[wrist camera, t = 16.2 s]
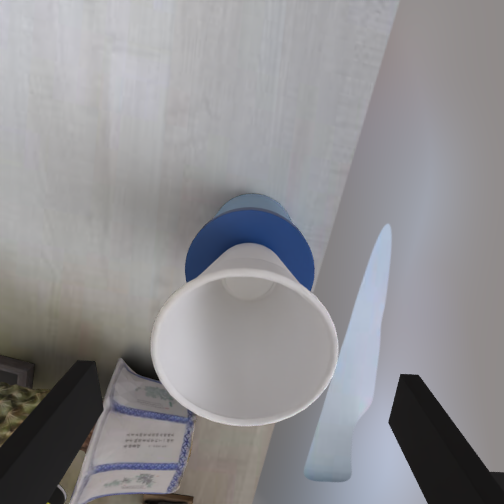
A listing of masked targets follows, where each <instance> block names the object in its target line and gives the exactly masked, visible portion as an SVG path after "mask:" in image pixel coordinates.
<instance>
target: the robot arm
mask: <svg viewBox="0 0 504 504" xmlns="http://www.w3.org/2000/svg"><path fill="white" fill-rule="evenodd" d="M103 411H104V407H103V402H102V396H101V391H100V385H99V380H98V374H97V369H96V363H95V361H80V360H77V362H76V363H75V364H74V365H73V366H72V367H71V368H70V369H69V371H68V372H67V373H66V374H65V375H64V376H63V377H62V378H61V380H60V381H59V382H58V383H57V384H56V385H55V386H54V387H53V388H52V390H51V391H50V392H49V393H48V394H47V395H46V396H45V397H44V399H43V400H42V401H41V402H40V403H39V404H38V405H37V406H36V408H35V409H34V410H33V411H32V412H31V413H30V414H29V415H28V417H27V418H26V419H25V420H24V421H23V422H22V423H21V424H20V425H19V427H18V428H17V429H16V430H15V431H14V432H13V433H12V434H11V436H10V437H9V438H8V439H7V440H6V441H5V442H4V443H3V445H2V446H1V447H0V504H47V502H48V500H49V499H50V497H51V496H52V494H53V492H54V491H55V489H56V487H57V486H58V484H59V482H60V481H61V479H62V478H63V476H64V474H65V473H66V471H67V469H68V468H69V466H70V465H71V463H72V461H73V460H74V458H75V456H76V455H77V453H78V451H79V450H80V448H81V447H82V445H83V443H84V442H85V440H86V438H87V437H88V435H89V434H90V432H91V430H92V429H93V427H94V425H95V424H96V422H97V420H98V419H99V417H100V416H101V414H102V412H103ZM389 425H390V427H391V429H392V431H393V433H394V435H395V437H396V439H397V441H398V443H399V445H400V447H401V449H402V452H403V454H404V456H405V458H406V460H407V462H408V464H409V466H410V468H411V470H412V472H413V474H414V476H415V478H416V480H417V482H418V484H419V487H420V489H421V490H422V493H423V494H424V497H425V499H426V501H427V503H428V504H504V473H503V472H489V470H488V469H487V468H486V466H485V465H484V464H483V462H482V461H481V460H480V458H479V457H478V455H477V454H476V453H475V451H474V450H473V449H472V447H471V446H470V444H469V443H468V442H467V441H466V439H465V438H464V436H463V435H462V433H461V432H460V431H459V429H458V428H457V427H456V425H455V424H454V423H453V421H452V420H451V419H450V417H449V416H448V414H447V413H446V412H445V410H444V409H443V408H442V406H441V405H440V403H439V402H438V401H437V399H436V398H435V397H434V395H433V394H432V392H431V391H430V390H429V388H428V387H427V386H426V384H425V383H424V382H423V380H422V379H421V377H420V376H419V375H412V374H400V378H399V382H398V386H397V390H396V394H395V398H394V402H393V406H392V411H391V414H390V418H389Z"/></svg>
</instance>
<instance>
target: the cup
mask: <svg viewBox="0 0 504 504" xmlns="http://www.w3.org/2000/svg"><path fill="white" fill-rule="evenodd" d="M151 357H152V361H153V365H154V369H155V371H156V373H157V375H158V377H159V379H160V382H161V383H162V384H163V386H164V387H165V388H166V390H167V391H168V392H169V394H170V395H171V396H172V397H173V398H174V399H176V400H177V401H178V402H179V403H180V404H181V405H182V406H184V407H185V408H187V409H189V410H190V411H192V412H193V413H195V414H197V415H199V416H201V417H204V418H206V419H208V420H211V421H215V422H218V423H222V424H226V425H235V426H260V425H265V424H271V423H276V422H278V421H281V420H284V419H286V418H289V417H292V416H293V415H295V414H297V413H299V412H300V411H302V410H304V409H305V408H307V407H308V406H309V405H310V404H312V403H313V402H314V401H315V400H316V399H317V398H318V397H319V396H320V395H321V393H322V392H323V391H324V390H325V389H326V388H327V386H328V384H329V382H330V380H331V378H332V376H333V374H334V372H335V368H336V364H337V360H338V338H337V333H336V329H335V325H334V323H333V321H332V319H331V317H330V315H329V313H328V311H327V309H326V308H325V307H324V306H323V304H322V303H321V302H320V301H319V299H318V298H317V297H316V296H315V295H314V294H313V293H311V292H310V291H309V290H308V289H307V288H305V287H304V286H303V285H301V284H300V283H299V282H298V280H297V279H296V278H295V277H294V276H293V275H292V273H291V272H290V271H289V270H288V268H287V267H286V266H285V265H284V264H283V262H282V261H281V260H280V259H279V257H278V256H277V255H276V254H275V253H274V252H273V251H272V250H271V249H269V248H267V247H265V246H263V245H260V244H256V243H242V244H238V245H235V246H233V247H231V248H229V249H228V250H227V251H225V252H224V253H223V254H222V255H221V256H220V257H219V258H218V259H217V260H215V261H214V262H213V263H212V264H211V265H210V266H209V267H208V268H207V269H206V270H205V271H204V272H202V273H201V274H200V275H199V276H198V277H197V278H195V279H193V280H191V281H189V282H187V283H186V284H185V285H183V286H182V287H181V288H179V289H178V290H177V291H175V292H174V293H173V294H172V295H171V297H170V298H169V299H168V300H167V301H166V302H165V304H164V305H163V306H162V308H161V310H160V312H159V314H158V316H157V317H156V319H155V321H154V325H153V330H152V334H151Z"/></svg>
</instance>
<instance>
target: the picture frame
mask: <svg viewBox="0 0 504 504" xmlns="http://www.w3.org/2000/svg"><path fill="white" fill-rule="evenodd" d="M34 365H35V364H32V363H28V362H25V361H21V360H17V359H13V358H10V357H6V356H2V355H0V382H5V383H8V384H9V385H15V384H18V385H19V386H22V387H28V388H30V389H32V384H33V375H34Z"/></svg>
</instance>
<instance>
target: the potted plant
mask: <svg viewBox="0 0 504 504" xmlns="http://www.w3.org/2000/svg"><path fill="white" fill-rule="evenodd" d="M50 391H51V390H48V389H37V390H32V389H30V388H28V387H22V386H19V385H18V384H15V385H9V384H8V383H5V382H0V447H1V446H2V445H3V443H4V442H5V441H6V440H7V439H8V438H9V437H10V436H11V434H12V433H13V432H14V431H15V430H16V429H17V428H18V427H19V425H20V424H21V423H22V422H23V421H24V420H25V419H26V418H27V417H28V415H29V414H30V413H31V412H32V411H33V410H34V409H35V408H36V406H37V405H38V404H39V403H40V402H41V401H42V400H43V399H44V397H45V396H46V395H47V394H48V393H49V392H50ZM102 402H103V407H104V411H103V412H102V414H101V416H100V417H99V419H98V420H97V422H96V424H95V425H94V427H93V429H92V430H91V432H90V434H89V435H88V437H87V438H86V440H85V442H84V443H83V445H82V447H81V448H80V450H82V451H85V454H86V455H85V458H84V462H83V465H82V468H81V472H80V475H79V477H78V480H77V483H76V485H75V488H74V491H73V493H72V496H71V499H70V503H69V504H86V503H88V502H90V501H92V500H94V499H97V498H100V497H103V496H110V495H119V494H170V493H174V492H175V491H177V490H178V489H179V488H180V481H181V479H182V477H183V474H184V470H185V468H186V465H187V462H188V460H189V457H190V454H191V448H192V437H193V434H194V427H195V422H196V420H197V414H195V413H193V412H192V411H190V410H189V409H187V408H185V407H184V406H182V405H181V404H180V403H179V402H178V401H177V400H176V399H174V398H173V397H172V396H171V395H170V394H169V392H168V391H167V390H166V388H165V387H164V386H163V384H162V383H161V382H160V381H158V380H154V379H150V378H147V377H143V376H140V375H138V374H136V373H135V372H134V371H133V370H132V369H131V368H130V367H129V366H128V365H127V364H126V363H125V362H124V360H123V359H122V358H119V359H118V361H117V364H116V368H115V370H114V373H113V376H112V378H111V380H110V383H109V386H108V388H107V391H106V394H105V398H104V401H102Z"/></svg>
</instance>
